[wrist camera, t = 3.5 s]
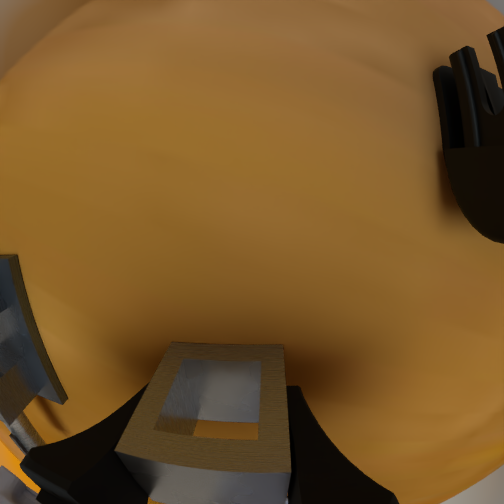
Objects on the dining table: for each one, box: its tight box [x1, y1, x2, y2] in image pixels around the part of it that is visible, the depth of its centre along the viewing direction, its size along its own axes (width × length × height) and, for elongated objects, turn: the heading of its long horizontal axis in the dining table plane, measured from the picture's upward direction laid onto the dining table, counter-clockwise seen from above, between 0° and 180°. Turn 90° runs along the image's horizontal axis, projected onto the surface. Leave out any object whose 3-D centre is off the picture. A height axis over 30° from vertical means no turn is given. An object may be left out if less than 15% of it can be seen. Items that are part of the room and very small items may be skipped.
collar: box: [114, 342, 291, 504], centre depth 9 cm, size 4×5×6 cm
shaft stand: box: [0, 255, 68, 455], centre depth 11 cm, size 16×8×5 cm, turn 2°
